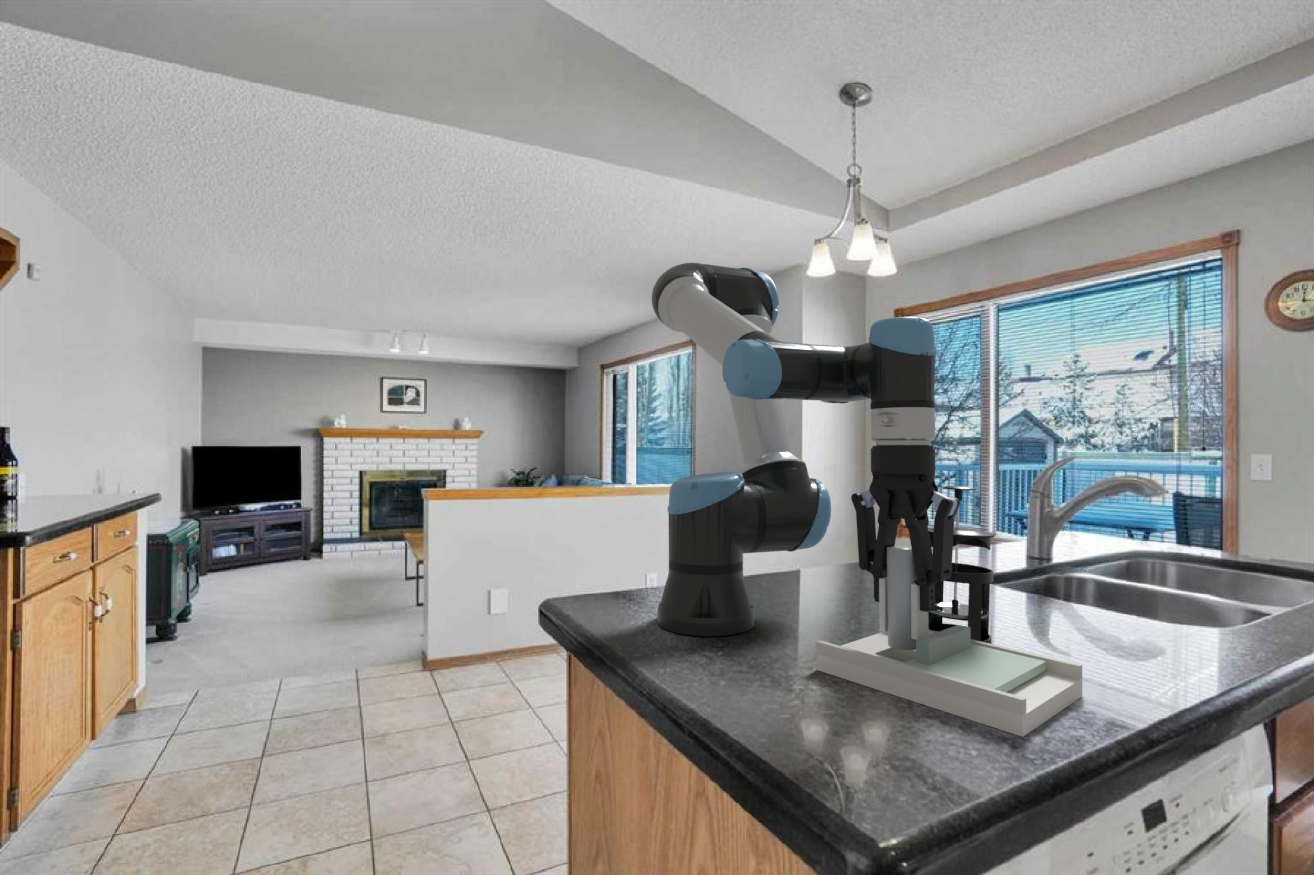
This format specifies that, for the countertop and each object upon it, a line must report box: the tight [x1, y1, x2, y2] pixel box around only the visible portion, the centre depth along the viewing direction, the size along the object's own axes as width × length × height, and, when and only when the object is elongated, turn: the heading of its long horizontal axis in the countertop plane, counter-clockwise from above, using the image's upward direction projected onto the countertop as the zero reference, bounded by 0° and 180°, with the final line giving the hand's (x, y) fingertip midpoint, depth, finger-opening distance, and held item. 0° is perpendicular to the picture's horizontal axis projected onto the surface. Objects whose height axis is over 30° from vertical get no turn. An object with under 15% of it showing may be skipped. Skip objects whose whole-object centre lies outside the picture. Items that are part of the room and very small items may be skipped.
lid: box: [903, 624, 1046, 692], centre depth 74 cm, size 10×14×4 cm
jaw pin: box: [887, 545, 917, 650], centre depth 81 cm, size 4×4×12 cm
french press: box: [928, 485, 996, 644], centre depth 89 cm, size 12×9×23 cm
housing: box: [815, 630, 1083, 738], centre depth 77 cm, size 24×16×4 cm, turn 40°
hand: (903, 632), depth 81 cm, fingers closed on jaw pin, 3 cm apart
